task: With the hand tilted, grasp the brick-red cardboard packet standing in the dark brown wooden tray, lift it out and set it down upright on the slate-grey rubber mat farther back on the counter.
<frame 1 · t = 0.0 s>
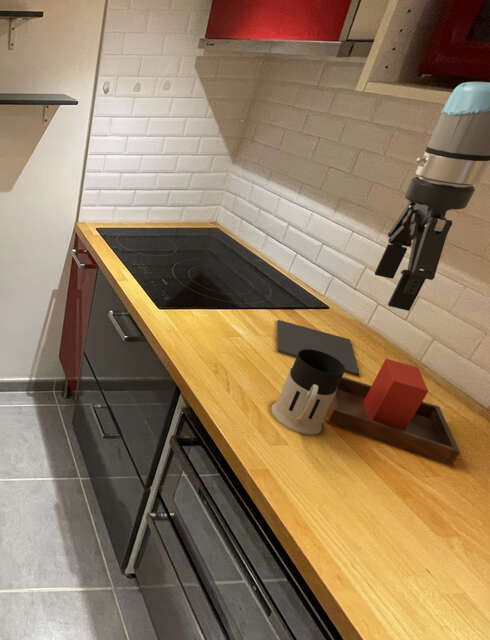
hand: (390, 291, 83), 30 cm above the worktop, tool pointing down, fingers open, 13 cm apart
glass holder: (294, 426, 92), on the worktop
packet: (381, 418, 93), point 1 cm above the worktop, touching dark brown wooden tray
dark brown wooden tray: (380, 420, 93), on the worktop
mat: (313, 346, 116), on the worktop
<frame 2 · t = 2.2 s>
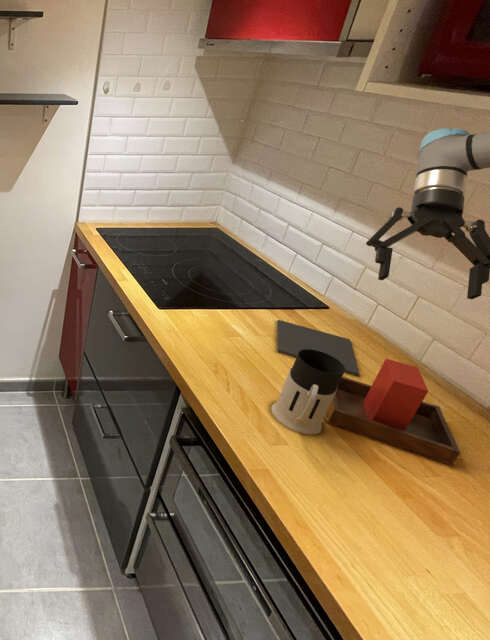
hand: (427, 287, 90), 28 cm above the worktop, tool tilted 45°, fingers open, 13 cm apart
nothing on the worktop moved.
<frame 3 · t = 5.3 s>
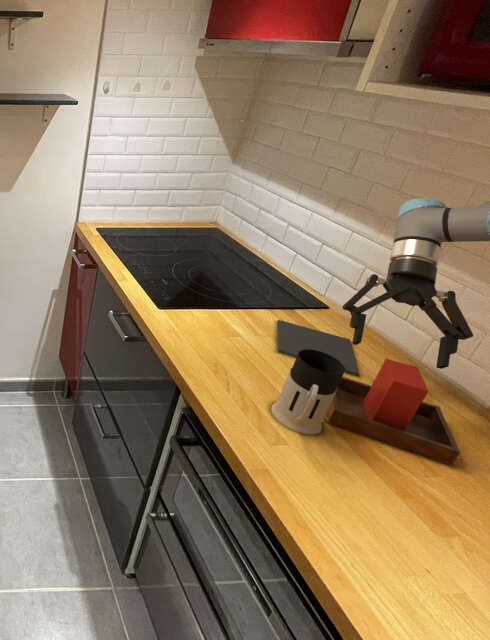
hand: (397, 354, 93), 13 cm above the worktop, tool tilted 45°, fingers open, 13 cm apart
nothing on the worktop moved.
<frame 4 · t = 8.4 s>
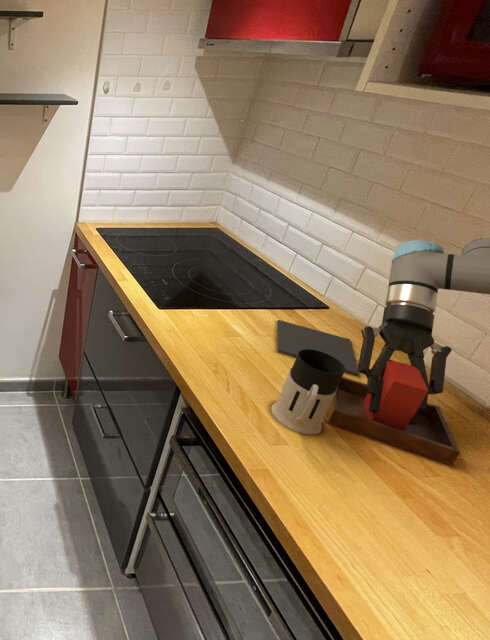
hand: (392, 417, 89), 4 cm above the worktop, tool tilted 45°, fingers closed on packet, 5 cm apart
packet: (381, 418, 93), point 1 cm above the worktop, touching dark brown wooden tray, gripper
everything else where it was.
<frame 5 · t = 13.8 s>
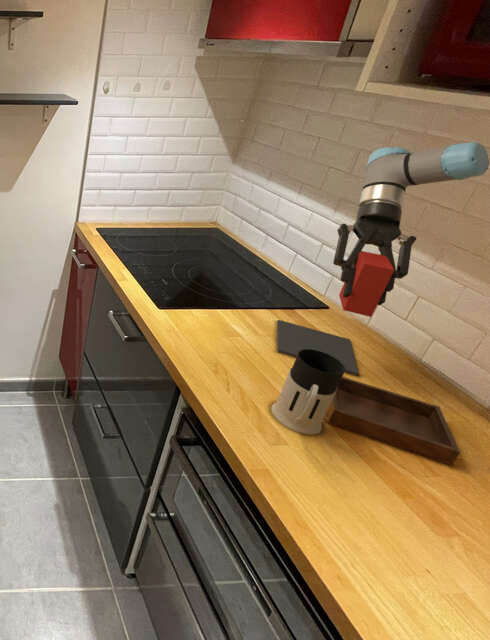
hand: (363, 299, 99), 20 cm above the worktop, tool tilted 45°, fingers closed on packet, 5 cm apart
packet: (354, 305, 103), point 17 cm above the worktop, touching gripper
everything else where it was.
when the fingers open (4 cm above the worktop, at t = 19.1 s): packet stays where it is, resting on mat.
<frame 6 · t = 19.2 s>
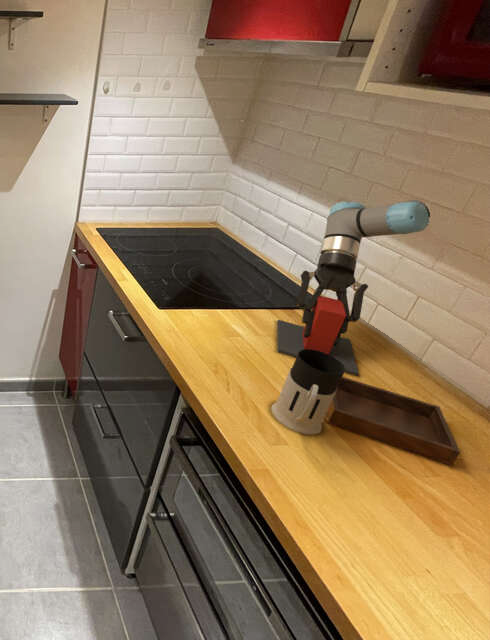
hand: (320, 340, 111), 4 cm above the worktop, tool tilted 45°, fingers open, 5 cm apart
packet: (314, 344, 116), point 1 cm above the worktop, touching mat
everything else where it was.
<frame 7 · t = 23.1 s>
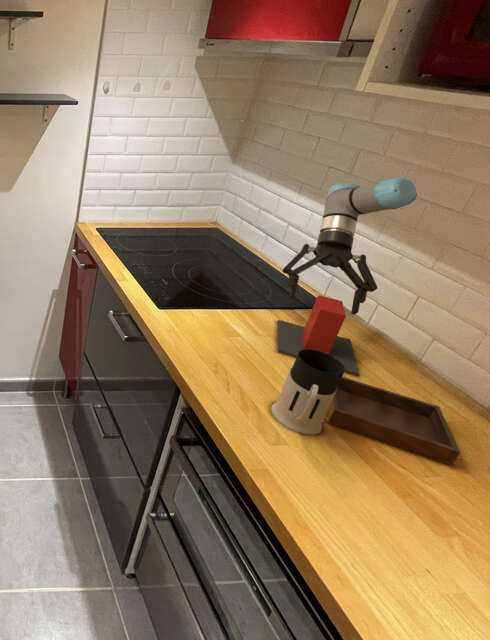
hand: (322, 305, 120), 8 cm above the worktop, tool tilted 45°, fingers open, 13 cm apart
nothing on the worktop moved.
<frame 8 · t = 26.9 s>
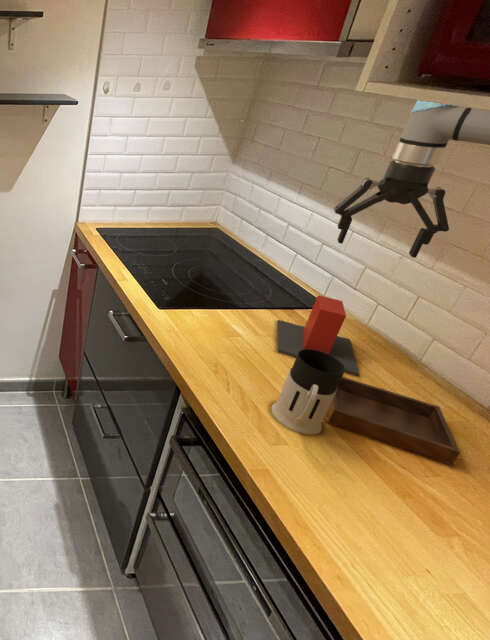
hand: (374, 248, 109), 27 cm above the worktop, tool pointing down, fingers open, 13 cm apart
nothing on the worktop moved.
at the end: packet inside the target area on the mat (0.1 cm from its centre), point 0.8 cm above the mat's base; packet tilted 0°; packet touching mat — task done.
